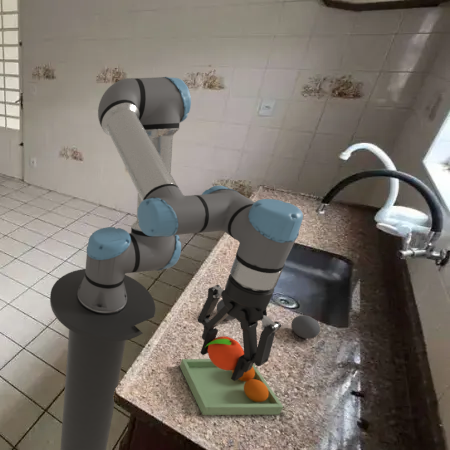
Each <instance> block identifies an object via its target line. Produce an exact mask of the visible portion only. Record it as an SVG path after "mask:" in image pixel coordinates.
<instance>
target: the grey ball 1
mask: <svg viewBox="0 0 450 450" xmlns="http://www.w3.org/2000/svg"><path fill="white" fill-rule="evenodd" d="M224 306H225V305H224V302H223V299H222V298H221V299H219V301H218V303H217V305H216V307H215V309H216V312H217V313H218V312H219V311H220V310H221V309H222V308H223V307H224ZM217 313H216V314H217ZM224 320H225V321H226V320H227V321H232V320H237V319H236V318H234V317H231V316H230V315H228V316H227V317H226V318H225V319H224Z"/></svg>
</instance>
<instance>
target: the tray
mask: <svg viewBox="0 0 450 450" xmlns="http://www.w3.org/2000/svg"><path fill="white" fill-rule="evenodd" d="M179 368H180V370H181V372H182V374H183V376H184V378H185V381H186V383H187V385H188V387H189V389H190V391H191V393H192V396H193V398H194V400H195V402H196V404H197V406H198V409H199V410H200V413H201V414H202V415H201V416H233V415H234V416H236V415H237V416H240V415H241V416H242V415H244V416H246V415H248V416H249V415H250V416H251V415H252V416H253V415H254V416H255V415H256V416H257V415H270V416H271V415H281V412H282V411H283V409H284V406H283V404H282V402H281V401H280V399H279V398H278V397H277V396H276V394H275V392H274V391H273V389H272V388H271V387H270V386H269V384H268V383H267V381H266V380H265V378H264V376H263V375H262V374H261V373H260V371H259V370H258V368H257V366H256V365H255V364H253V368H254V370H255V376H254V378H253V379H256V380H259V381H261V382H263V383H264V384H265V385H266V387H267V388H268V391H269V396H268V398H267V399H266V400H265V401H263V402H255V401H252V400H251V399H249V398H248V397H247V396H246V394H245V392H244V384H245V383H246V382H247V381H241V380H239V379H237V380H236V381H233V380H232V379H231V377H232V375H233V373H232V370H223V369H220V368H219V367H217V366H216V365H214V364H213V362H212V361H211V360H210V358H182V359H181V361H180V364H179Z"/></svg>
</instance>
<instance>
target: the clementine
mask: <svg viewBox="0 0 450 450" xmlns="http://www.w3.org/2000/svg"><path fill="white" fill-rule="evenodd" d="M208 345H209V346H208ZM206 346H208V353H207V354H208V355H207V356H208V359H210V360H211V361H212V362H213V364H214V365H216V366H217V367H219V368H220V369H223V370H235V367H236V365H237V362H238V360H239V357H240V356H242V355H244V347H242V345H241V344H240V343H239V342H238V341H237V340H236V339H234V338H233V337H229V336H225V335H223V336H216V338H215V339H213V340H212V341H211V342H210V343H208V344H207V345H206ZM206 346H205V347H206Z"/></svg>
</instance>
